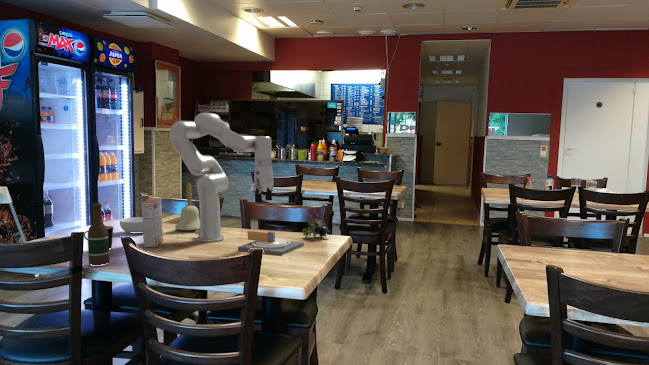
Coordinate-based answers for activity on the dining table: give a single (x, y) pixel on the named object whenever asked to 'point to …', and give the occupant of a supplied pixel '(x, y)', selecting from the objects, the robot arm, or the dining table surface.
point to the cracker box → (152, 222)
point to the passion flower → (316, 228)
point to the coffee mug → (110, 234)
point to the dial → (265, 238)
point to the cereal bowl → (132, 224)
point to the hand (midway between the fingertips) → (263, 201)
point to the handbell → (189, 214)
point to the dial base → (273, 247)
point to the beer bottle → (98, 238)
